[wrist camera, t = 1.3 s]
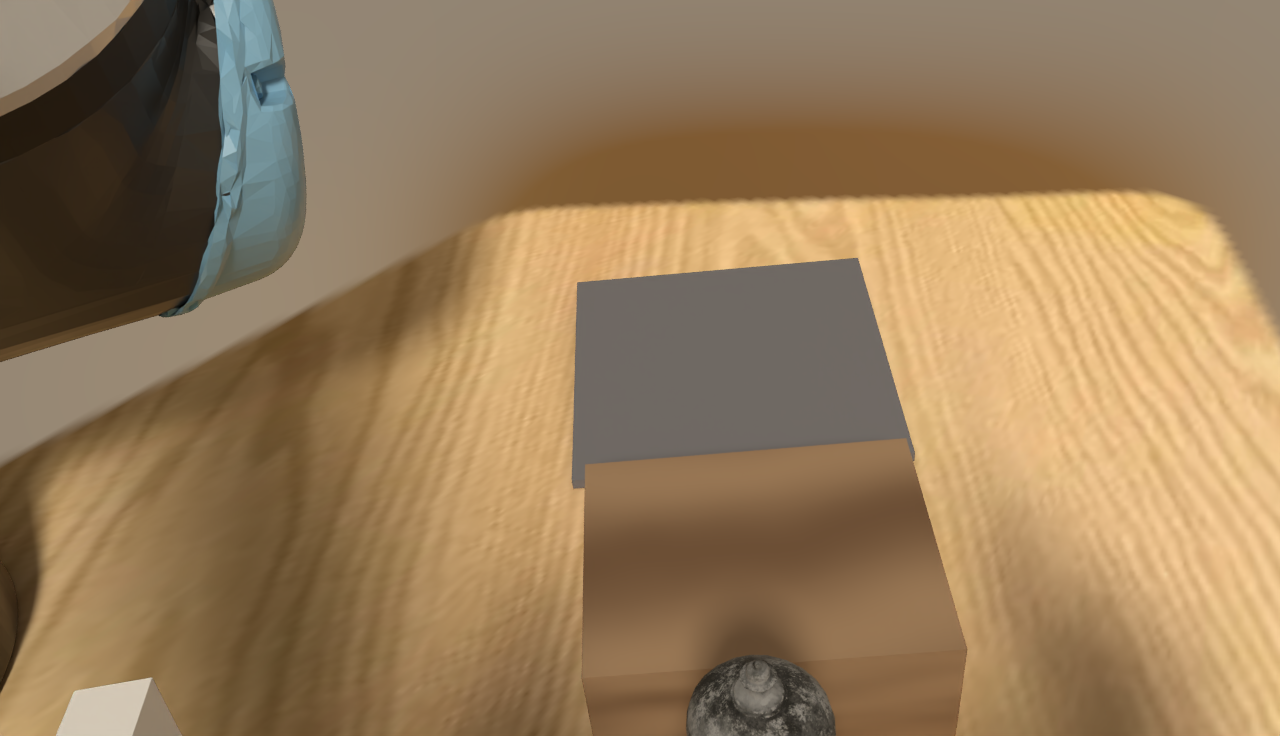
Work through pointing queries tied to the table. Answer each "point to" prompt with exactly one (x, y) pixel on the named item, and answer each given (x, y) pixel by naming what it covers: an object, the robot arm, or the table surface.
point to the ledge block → (768, 585)
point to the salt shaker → (759, 701)
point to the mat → (729, 364)
